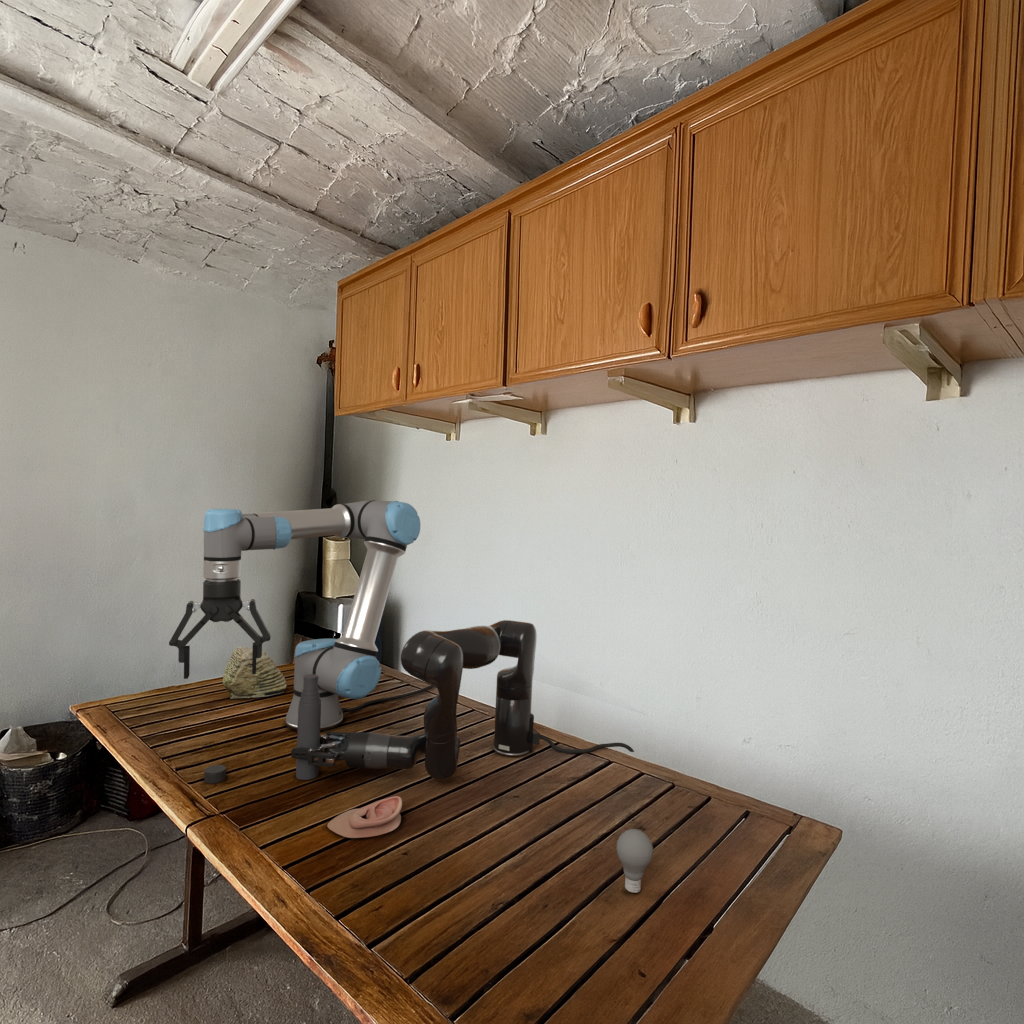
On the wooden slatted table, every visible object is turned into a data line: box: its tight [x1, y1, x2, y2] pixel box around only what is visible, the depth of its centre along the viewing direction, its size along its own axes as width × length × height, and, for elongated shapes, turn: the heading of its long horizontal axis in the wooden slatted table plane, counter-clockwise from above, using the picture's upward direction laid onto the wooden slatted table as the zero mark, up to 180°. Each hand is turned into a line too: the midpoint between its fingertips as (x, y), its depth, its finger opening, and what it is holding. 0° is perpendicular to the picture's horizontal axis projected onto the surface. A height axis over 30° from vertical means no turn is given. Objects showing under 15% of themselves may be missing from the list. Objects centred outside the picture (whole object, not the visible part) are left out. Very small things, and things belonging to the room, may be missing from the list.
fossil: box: [222, 646, 288, 699], centre depth 198 cm, size 9×18×15 cm, turn 132°
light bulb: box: [615, 828, 654, 894], centre depth 106 cm, size 6×6×10 cm
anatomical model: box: [327, 795, 403, 839], centre depth 123 cm, size 13×4×12 cm
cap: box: [203, 764, 227, 784], centre depth 140 cm, size 4×4×2 cm
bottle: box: [295, 674, 321, 781], centre depth 143 cm, size 5×5×23 cm
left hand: (220, 674), depth 140 cm, fingers open, 13 cm apart
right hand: (298, 746), depth 144 cm, fingers open, 6 cm apart
